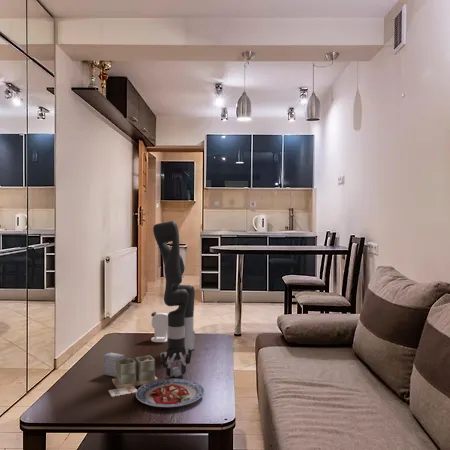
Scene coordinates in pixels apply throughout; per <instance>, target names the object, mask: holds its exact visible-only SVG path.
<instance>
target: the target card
mask: <svg viewBox="0 0 450 450" xmlns="http://www.w3.org/2000/svg"><path fill="white" fill-rule="evenodd" d="M137 390H138V389H137V388H136V386H131V387H125V388H119V389H117V388H115V389H109V390H108V393H109V395H110V397H111V398H116V397H120V395H121V396H127V395H131V393H132V394H136V391H137ZM126 394H127V395H126ZM115 396H116V397H115Z"/></svg>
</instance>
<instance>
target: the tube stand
mask: <svg viewBox="0 0 450 450" xmlns="http://www.w3.org/2000/svg"><path fill="white" fill-rule="evenodd" d="M147 359H148V361H145V360H147ZM157 380H159V378H158V377H157V376H156V360H155V358H154V357H153V356H151V355H144V356H136V357H134V359H133V358H132V357H129V358H124V359H122V360H116V377H115V378H112V379H111V382H112V384H113V385H114V386H115V389H119V388H125V387H131V386H134V387H138V386H143V385H145V384H147V383H150V382H153V381H157Z"/></svg>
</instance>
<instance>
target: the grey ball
mask: <svg viewBox="0 0 450 450" xmlns="http://www.w3.org/2000/svg"><path fill="white" fill-rule="evenodd" d="M170 375H171V376H173V377H174V378H178V377H180V375H181V368H180V367H177V366H176V367H173V368H172V369H171V372H170Z"/></svg>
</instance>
